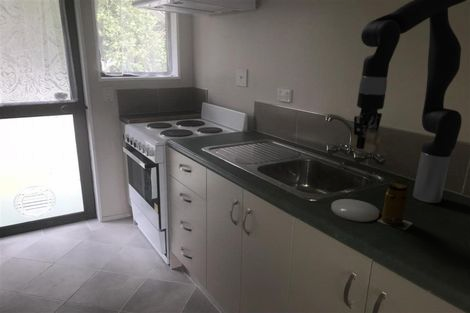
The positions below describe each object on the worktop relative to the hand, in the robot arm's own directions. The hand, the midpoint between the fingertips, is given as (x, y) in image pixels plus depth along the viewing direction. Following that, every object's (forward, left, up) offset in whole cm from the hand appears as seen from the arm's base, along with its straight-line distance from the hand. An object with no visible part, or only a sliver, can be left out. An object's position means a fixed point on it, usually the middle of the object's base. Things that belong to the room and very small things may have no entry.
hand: (364, 146), depth 108 cm
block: (0, 0, -1) cm, 1 cm away
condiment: (-2, +12, -22) cm, 25 cm away
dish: (0, 0, -22) cm, 22 cm away
